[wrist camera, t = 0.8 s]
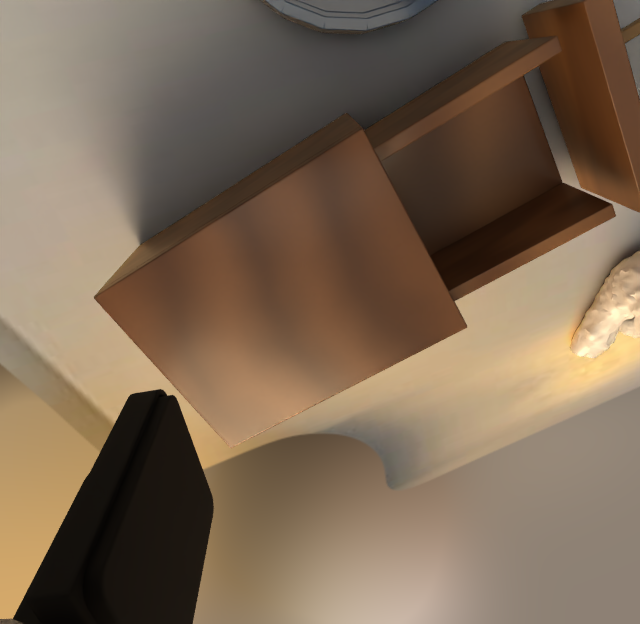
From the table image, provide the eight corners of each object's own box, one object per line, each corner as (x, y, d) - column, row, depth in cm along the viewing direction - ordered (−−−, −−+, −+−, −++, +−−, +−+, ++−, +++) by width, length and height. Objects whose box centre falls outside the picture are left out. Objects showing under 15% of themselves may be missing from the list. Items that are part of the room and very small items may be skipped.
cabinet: (346, 112, 31) (362, 127, 23) (431, 271, 36) (468, 327, 28) (139, 245, 34) (92, 297, 26) (243, 373, 39) (230, 449, 31)
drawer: (615, -45, 27) (708, -78, 21) (663, 142, 31) (751, 161, 25) (306, 151, 31) (309, 172, 25) (389, 292, 35) (408, 338, 29)
